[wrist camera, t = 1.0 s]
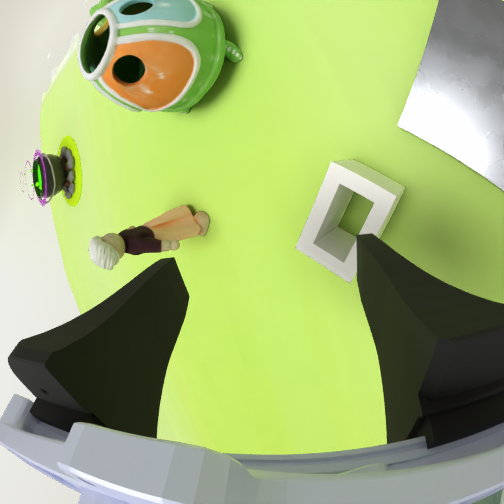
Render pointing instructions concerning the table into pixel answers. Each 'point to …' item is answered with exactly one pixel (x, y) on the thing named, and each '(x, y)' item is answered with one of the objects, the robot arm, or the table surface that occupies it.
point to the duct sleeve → (333, 208)
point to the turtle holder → (154, 52)
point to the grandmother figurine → (148, 236)
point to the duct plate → (462, 86)
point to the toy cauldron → (59, 173)
